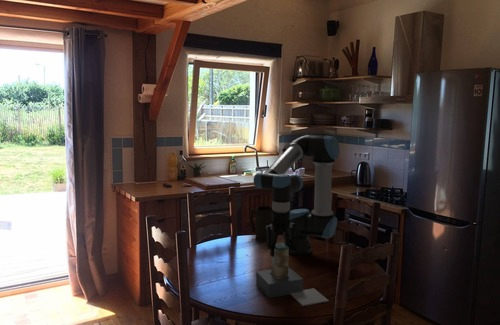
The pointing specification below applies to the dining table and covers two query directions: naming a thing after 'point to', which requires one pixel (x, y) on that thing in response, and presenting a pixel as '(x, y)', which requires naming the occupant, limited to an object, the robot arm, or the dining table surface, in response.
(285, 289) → the block
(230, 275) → the dining table surface
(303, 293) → the coaster
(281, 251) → the teal and tan block
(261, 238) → the beer stein
